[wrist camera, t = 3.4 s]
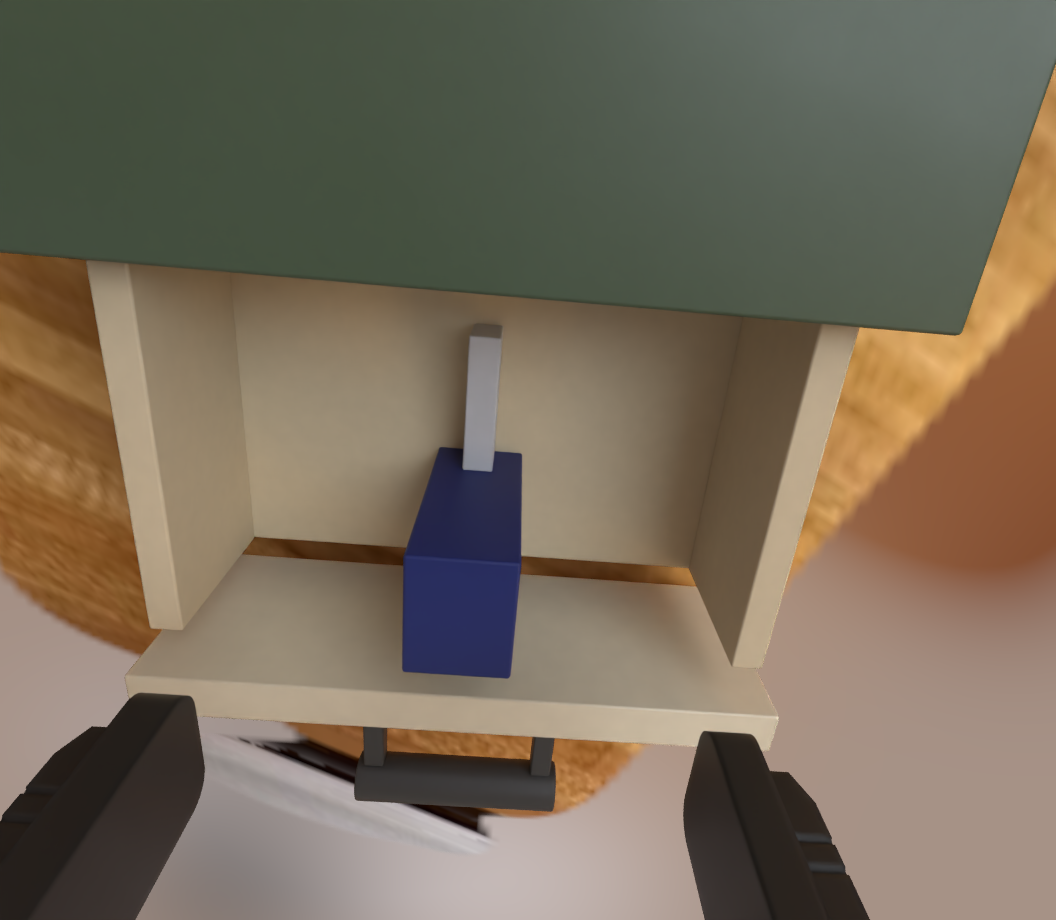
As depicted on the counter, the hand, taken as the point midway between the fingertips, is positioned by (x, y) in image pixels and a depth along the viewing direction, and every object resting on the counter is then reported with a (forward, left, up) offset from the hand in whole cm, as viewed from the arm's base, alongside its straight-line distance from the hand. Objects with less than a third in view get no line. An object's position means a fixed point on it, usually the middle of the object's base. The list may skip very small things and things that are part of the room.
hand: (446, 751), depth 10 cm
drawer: (0, 0, -11) cm, 11 cm away
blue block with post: (0, +2, -10) cm, 10 cm away
